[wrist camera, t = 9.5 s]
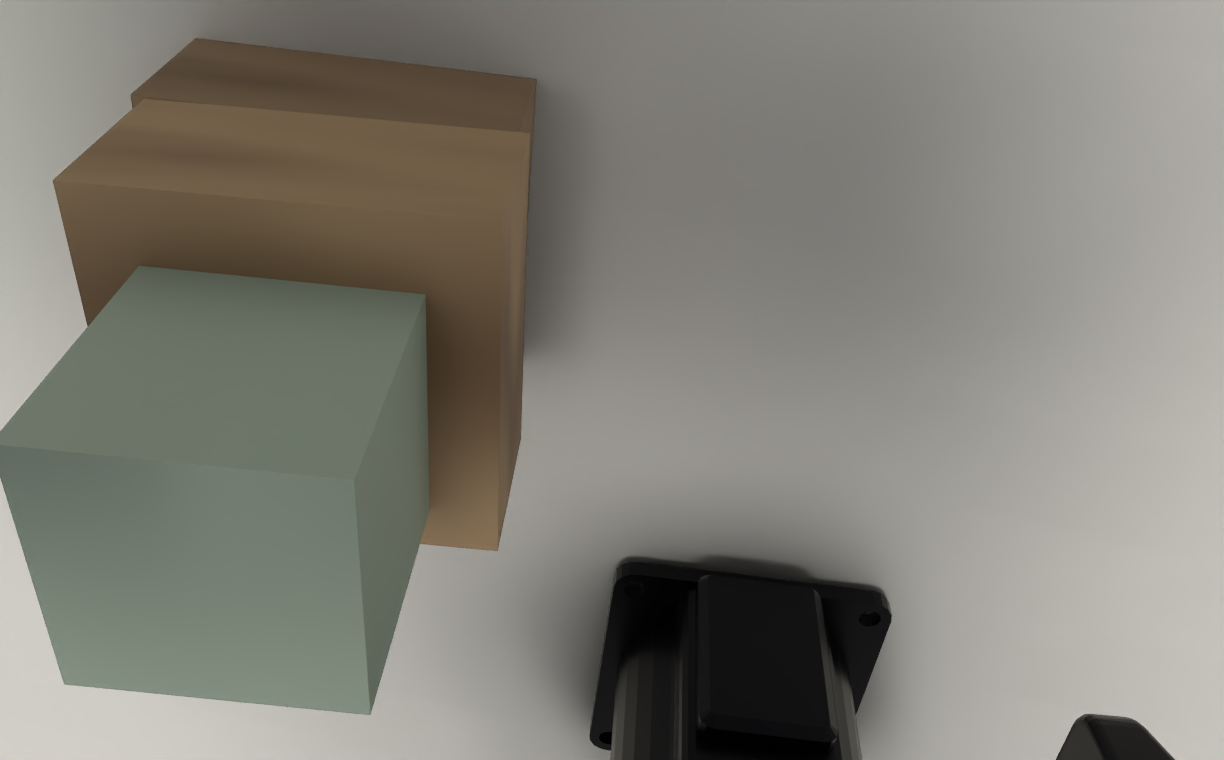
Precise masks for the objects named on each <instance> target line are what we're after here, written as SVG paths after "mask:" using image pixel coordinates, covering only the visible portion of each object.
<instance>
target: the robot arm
mask: <svg viewBox="0 0 1224 760" xmlns="http://www.w3.org/2000/svg"><path fill="white" fill-rule="evenodd" d="M630 582H638V583H641V585H632V584H629V583H630ZM868 611H873V613H870V614H864V613H865V612H868ZM891 616H892V615H891V610H890V605H889V602H888V600H887V598H886V597H885V596H883V595H882V594H881V593H877V592H873V591H866V590H858V589H850V588H842V587H834V586H826V585H818V584H810V583H802V582H794V581H786V580H778V579H770V578H762V577H753V576H745V575H737V574H729V573H721V572H713V571H705V570H697V569H689V568H681V567H673V566H665V565H657V564H649V563H641V562H630V563H627V564H624V565H622V566H620V567H619V568H618V569H617V570H616V573H615V575H614V581H613V587H612V594H611V600H610V606H609V612H608V619H607V625H606V631H605V637H604V644H603V650H602V656H601V662H600V669H599V675H598V681H597V687H596V694H595V700H594V706H593V712H592V718H591V726H590V741H591V742H592V743H593V744H594V745H595V746H597V747H599V748H601V749H605V750H611V760H862V756H861V749H860V743H859V736H858V729H857V722H856V713H857V711H858V708H859V705H860V703H861V700H862V697H863V695H864V692H865V689H866V687H867V684H868V681H869V679H870V676H871V674H872V671H873V668H874V666H875V663H876V660H877V658H878V655H879V652H880V650H881V647H882V644H883V642H884V639H885V636H886V634H887V631H888V628H889V626H890V623H891ZM1056 760H1175V759H1174V758H1173V757H1172V756H1171V755H1170V754H1169V753H1168V752H1167V751H1166V750H1165V749H1164V747H1163V746H1162V745H1161V744H1160V743H1159V742H1158V741H1157V740H1156V739H1155V738H1154V737H1153V736H1152V735H1151V734H1150V732H1149V731H1148V730H1147V729H1146V728H1145V727H1144V726H1142V725H1141V724H1140V723H1138V722H1137V721H1135V720H1133V719H1131V718H1126V717H1119V716H1108V715H1097V714H1084V715H1082V716H1081V717H1079V718H1078V719H1077V720H1076V721H1075V723H1074V724H1073V726H1072V728H1071V730H1070V732H1069V734H1068V736H1067V738H1066V740H1065V742H1064V744H1063V746H1062V748H1061V750H1060V752H1059V754H1058V756H1057V758H1056Z"/></svg>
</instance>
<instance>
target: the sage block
mask: <svg viewBox="0 0 1224 760" xmlns="http://www.w3.org/2000/svg"><path fill="white" fill-rule="evenodd" d="M0 478H1V481H2V484H3V488H4V491H5V494H6V497H7V500H8V504H9V507H10V510H11V513H12V517H13V520H14V523H15V526H16V530H17V533H18V536H19V539H20V543H21V546H22V549H23V552H24V556H25V559H26V562H27V565H28V569H29V572H30V575H31V578H32V582H33V585H34V588H35V591H36V595H37V598H38V601H39V604H40V607H41V611H42V614H43V617H44V620H45V624H46V627H47V630H48V633H49V637H50V640H51V643H52V646H53V650H54V653H55V656H56V659H57V663H58V666H59V669H60V672H61V676H62V679H63V682H64V684H66V685H76V686H86V687H96V688H106V689H116V690H126V691H136V692H146V693H155V694H165V695H175V696H185V697H195V698H205V699H215V700H225V701H235V702H245V703H255V704H265V705H275V706H285V707H295V708H305V709H315V710H325V711H335V712H345V713H355V714H365V715H370V714H371V711H372V707H373V704H374V701H375V697H376V694H377V690H378V687H379V683H380V680H381V676H382V673H383V669H384V666H385V662H386V659H387V655H388V652H389V648H390V645H391V642H392V638H393V635H394V631H395V628H396V624H397V621H398V617H399V614H400V610H401V607H402V603H403V600H404V596H405V593H406V590H407V586H408V583H409V579H410V576H411V572H412V569H413V565H414V562H415V558H416V555H417V551H418V548H419V544H420V541H421V538H422V534H423V531H424V527H425V524H426V520H427V517H428V513H429V457H428V402H427V346H426V295H425V294H415V293H406V292H396V291H386V290H376V289H366V288H356V287H346V286H336V285H326V284H316V283H307V282H297V281H287V280H277V279H267V278H257V277H247V276H237V275H227V274H217V273H207V272H197V271H187V270H177V269H167V268H157V267H147V266H138V268H137V269H136V270H135V271H134V272H133V274H132V275H131V276H130V277H129V278H128V280H127V281H126V282H125V283H124V284H123V286H122V287H121V288H120V289H119V290H118V291H117V293H116V294H115V295H114V296H113V297H112V299H111V300H110V301H109V302H108V303H107V305H106V306H105V307H104V308H103V309H102V311H101V312H100V313H99V314H98V315H97V317H96V318H95V319H94V320H93V321H92V323H91V324H90V325H89V326H88V327H87V329H86V330H85V331H84V332H83V333H82V334H81V336H80V337H79V338H78V339H77V340H76V342H75V343H74V344H73V345H72V346H71V348H70V349H69V350H68V351H67V352H66V354H65V355H64V356H63V357H62V358H61V360H60V361H59V362H58V363H57V364H56V366H55V367H54V368H53V369H52V370H51V372H50V373H49V374H48V375H47V376H46V378H45V379H44V380H43V381H42V382H41V383H40V385H39V386H38V387H37V388H36V389H35V391H34V392H33V393H32V394H31V395H30V397H29V398H28V399H27V400H26V401H25V403H24V404H23V405H22V406H21V407H20V409H19V410H18V411H17V412H16V413H15V415H14V416H13V417H12V418H11V419H10V421H9V422H8V423H7V424H6V425H5V427H4V428H3V429H2V430H1V431H0Z"/></svg>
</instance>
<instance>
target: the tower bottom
mask: <svg viewBox="0 0 1224 760" xmlns="http://www.w3.org/2000/svg"><path fill="white" fill-rule="evenodd" d="M535 93H536V79H531V78H523V77H514V76H506V75H498V74H489V73H481V72H473V71H464V70H456V69H448V68H439V67H431V66H423V65H414V64H406V63H398V62H389V61H381V60H373V59H364V58H356V57H348V56H339V55H331V54H323V53H314V52H306V51H298V50H289V49H281V48H273V47H264V46H256V45H248V44H239V43H231V42H223V41H214V40H206V39H198V38H195V39H194V40H193V41H192V42H191V43H190V44H189V45H187V46H186V47H185V48H184V49H183V50H182V51H181V52H179V53H178V54H177V55H176V56H175V57H174V58H172V59H171V60H170V61H169V62H168V63H167V64H166V65H164V66H163V67H162V68H161V69H160V70H159V71H157V72H156V73H155V74H154V75H153V76H152V77H151V78H149V79H148V80H147V81H146V82H145V83H144V84H142V85H141V86H140V87H139V88H138V89H137V90H136V91H134V92H133V93H132V94H131V101H132V108H134V107H135V106H136V105H138V104H139V103H140V102H141V101H142V100H143V99H155V100H167V101H178V102H189V103H200V104H212V105H223V106H234V107H246V108H257V109H268V110H279V111H290V112H301V113H312V114H323V115H334V116H345V117H356V118H368V119H379V120H390V121H401V122H412V123H423V124H434V125H445V126H456V127H467V128H478V129H490V130H501V131H512V132H523V133H530V142H529V176H528V203H529V188H530V172H531V156H532V140H533V125H534V109H535ZM527 219H528V210H527Z"/></svg>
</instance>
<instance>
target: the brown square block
mask: <svg viewBox="0 0 1224 760" xmlns="http://www.w3.org/2000/svg"><path fill="white" fill-rule="evenodd" d="M529 142H530V133H523V132H512V131H501V130H490V129H478V128H467V127H456V126H445V125H434V124H423V123H412V122H401V121H390V120H379V119H368V118H356V117H345V116H334V115H323V114H312V113H301V112H290V111H279V110H268V109H257V108H246V107H234V106H223V105H212V104H200V103H189V102H178V101H167V100H155V99H143V100H142V101H141V102H140V103H139V104H138V105H136V106H135V107H134V108H133V109H132V110H131V111H130V112H129V113H128V114H126V115H125V116H124V117H123V118H122V119H121V120H120V121H119V122H117V123H116V124H115V125H114V126H113V127H112V128H111V129H110V130H109V131H107V132H106V133H105V134H104V135H103V136H102V137H101V138H100V139H98V140H97V141H96V142H95V143H94V144H93V145H92V146H91V147H89V148H88V149H87V150H86V151H85V152H84V153H83V154H82V155H81V156H79V157H78V158H77V159H76V160H75V161H74V162H73V163H72V164H70V165H69V166H68V167H67V168H66V169H65V170H64V171H63V172H62V173H60V174H59V175H58V176H57V177H56V178H55V179H54V180H53V183H54V187H55V191H56V196H57V200H58V204H59V208H60V212H61V217H62V221H63V225H64V229H65V233H66V238H67V242H68V246H69V250H70V254H71V258H72V263H73V267H74V271H75V275H76V279H77V284H78V288H79V292H80V296H81V300H82V305H83V309H84V313H85V317H86V321H87V325H88V326H89V325H90V324H91V323H92V321H93V320H94V319H95V318H96V317H97V315H98V314H99V313H100V312H101V311H102V309H103V308H104V307H105V306H106V305H107V303H108V302H109V301H110V300H111V299H112V297H113V296H114V295H115V294H116V293H117V291H118V290H119V289H120V288H121V287H122V286H123V284H124V283H125V282H126V281H127V280H128V278H129V277H130V276H131V275H132V274H133V272H134V271H135V270H136V269H137V268H138V266H147V267H157V268H167V269H177V270H187V271H197V272H207V273H217V274H227V275H237V276H247V277H257V278H267V279H277V280H287V281H297V282H307V283H316V284H326V285H336V286H346V287H356V288H366V289H376V290H386V291H396V292H406V293H415V294H425V295H426V346H427V402H428V457H429V513H428V517H427V520H426V524H425V527H424V531H423V534H422V538H421V541H420V544H427V545H438V546H449V547H460V548H470V549H481V550H492V551H498V546H499V542H500V537H501V532H502V527H503V522H504V517H505V513H506V508H507V503H508V498H509V493H510V488H511V484H512V479H513V474H514V469H515V464H516V459H517V455H518V450H519V445H520V440H521V417H522V382H523V348H524V313H525V279H526V245H527V210H528V176H529Z"/></svg>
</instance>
